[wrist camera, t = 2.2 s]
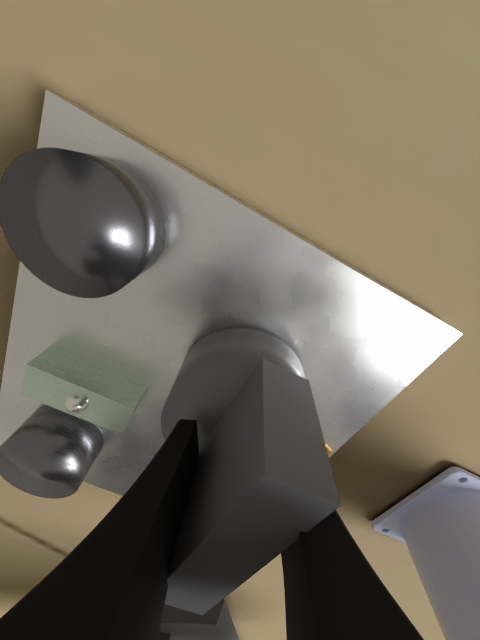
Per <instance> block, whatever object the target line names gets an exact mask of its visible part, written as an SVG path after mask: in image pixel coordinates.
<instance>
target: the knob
mask: <svg viewBox="0 0 480 640" xmlns="http://www.w3.org/2000/svg"><path fill="white" fill-rule="evenodd" d="M180 419H185V420H197V431H198V446H199V458H198V462H197V467H196V471H195V476H194V480H193V484H192V488H191V491H190V495H189V499H188V502H187V506H186V510H185V513H184V517H183V520H182V524H181V528H180V531H179V535H178V539H177V542H176V546H175V550H174V553H173V557H172V561H171V565H170V569H169V573H168V577H167V582H168V590H167V595H166V600H165V604H166V605H169V606H173V607H176V608H179V609H183V610H186V611H189V612H193V613H196V614H199V615H203V614H205V613H206V612H207V611H208V610H210V609H211V608H212V607H213V606H215V605H216V604H217V603H218V602H220V601H221V600H222V599H224V598H225V597H226V596H227V595H229V594H230V593H231V592H232V591H234V590H235V589H236V588H237V587H239V586H240V585H241V584H242V583H244V582H245V581H246V580H247V579H249V578H250V577H251V576H253V575H254V574H255V573H256V572H258V571H259V570H260V569H261V568H263V567H264V566H265V565H266V564H268V563H269V562H270V561H271V560H273V559H274V558H275V557H276V556H278V555H279V554H280V553H282V552H283V551H284V550H285V549H287V548H288V547H289V546H290V545H292V544H293V543H294V542H295V541H297V540H298V537H299V533H300V531H302V532H308V531H309V530H311V529H312V528H313V527H314V526H316V525H317V524H318V523H319V522H321V521H322V520H323V519H324V518H326V517H327V516H328V515H329V514H331V513H332V512H333V511H334V510H336V509H337V508H338V507H339V506H341V503H340V499H339V496H338V492H337V488H336V484H335V480H334V476H333V472H332V468H331V464H330V461H329V457H328V453H327V449H326V445H325V441H324V437H323V433H322V430H321V426H320V422H319V418H318V414H317V410H316V406H315V402H314V399H313V395H312V391H311V387H310V383H309V380H307V379H305V375H304V371H303V368H302V365H301V362H300V360H299V359H298V357H297V355H296V354H295V353H294V351H293V350H292V349H291V348H290V347H289V346H288V345H287V344H285V343H284V342H283V341H281V340H280V339H278V338H276V337H275V336H273V335H270V334H268V333H266V332H262V331H259V330H254V329H248V328H232V329H226V330H221V331H218V332H215V333H212V334H210V335H208V336H206V337H204V338H203V339H201V340H200V341H198V342H197V343H196V344H195V345H194V346H193V347H192V348H191V349H190V350H189V352H188V353H187V355H186V356H185V359H184V361H183V363H182V366H181V368H180V370H179V373H178V375H177V377H176V380H175V382H174V384H173V386H172V389H171V391H170V393H169V396H168V398H167V400H166V403H165V405H164V407H163V410H162V414H161V429H162V433H163V437H164V439H165V441H166V439H167V438H168V436H169V435H170V433H171V432H172V430H173V428H174V427H175V425H176V424H177V422H178V421H179V420H180Z"/></svg>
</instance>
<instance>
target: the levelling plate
mask: <svg viewBox="0 0 480 640" xmlns="http://www.w3.org/2000/svg"><path fill="white" fill-rule="evenodd" d="M0 222H1V226H2V229H3V232H4V234H5V236H6V239H7V241H8V243H9V245H10V246H11V248H12V250H13V251H14V253H15V254H16V256H17V257H18V258H19V260H20V264H19V271H18V277H17V284H16V291H15V297H14V304H13V311H12V317H11V324H10V331H9V337H8V344H7V351H6V357H5V364H4V370H3V377H2V384H1V390H0V475H1V476H2V477H3V478H4V479H5V480H6V481H7V482H9V483H10V484H11V485H13V486H15V487H16V488H18V489H20V490H22V491H24V492H27V493H29V494H32V495H35V496H39V497H45V498H63V497H67V496H70V495H72V494H73V493H75V492H76V491H77V490H78V488H79V486H80V485H81V483H82V481H84V482H87V483H90V484H92V485H95V486H98V487H101V488H103V489H106V490H109V491H112V492H114V493H117V494H120V495H123V496H124V494H125V493H126V492H127V491H128V489H129V488H130V487H131V486H132V485H133V483H134V482H135V481H136V480H137V478H138V477H139V476H140V475H141V473H142V472H143V471H144V469H145V468H146V467H147V465H148V464H149V463H150V461H151V460H152V459H153V457H154V456H155V455H156V453H157V452H158V451H159V449H160V448H161V446H162V445H163V443H164V442H165V439H164V437H163V433H162V429H161V414H162V410H163V407H164V405H165V403H166V400H167V398H168V396H169V393H170V391H171V389H172V386H173V384H174V382H175V380H176V377H177V375H178V373H179V370H180V368H181V366H182V363H183V361H184V359H185V356H186V355H187V353H188V352H189V350H190V349H191V348H192V347H193V346H194V345H195V344H196V343H197V342H198V341H200V340H201V339H203V338H204V337H206V336H208V335H210V334H212V333H215V332H218V331H221V330H226V329H232V328H248V329H254V330H259V331H262V332H266V333H268V334H270V335H273V336H275V337H276V338H278V339H280V340H281V341H283V342H284V343H285V344H287V345H288V346H289V347H290V348H291V349H292V350H293V351H294V353H295V354H296V355H297V357H298V359H299V360H300V362H301V365H302V368H303V371H304V375H305V379H307V380H309V383H310V387H311V391H312V395H313V399H314V402H315V406H316V410H317V414H318V418H319V422H320V426H321V430H322V433H323V437H324V441H325V445H326V449H327V453H328V457H329V458H330V457H331V456H332V455H333V454H334V453H335V452H336V451H337V450H338V449H339V448H340V447H341V446H342V445H344V444H345V443H346V442H347V441H348V440H349V439H350V438H351V437H352V436H353V435H354V434H355V433H356V432H358V431H359V430H360V429H361V428H362V427H363V426H364V425H365V424H366V423H367V422H368V421H369V420H370V419H372V418H373V417H374V416H375V415H376V414H377V413H378V412H379V411H380V410H381V409H382V408H383V407H384V406H386V405H387V404H388V403H389V402H390V401H391V400H392V399H393V398H394V397H395V396H396V395H397V394H398V393H400V392H401V391H402V390H403V389H404V388H405V387H406V386H407V385H408V384H409V383H410V382H411V381H412V380H414V379H415V378H416V377H417V376H418V375H419V374H420V373H421V372H422V371H423V370H424V369H425V368H427V367H428V366H429V365H430V364H431V363H432V362H433V361H434V360H435V359H436V358H437V357H438V356H439V355H441V354H442V353H443V352H444V351H445V350H446V349H447V348H448V347H449V346H450V345H451V344H452V343H453V342H455V341H456V340H457V339H458V338H459V337H460V336H461V335H462V333H461V332H459V331H458V330H457V329H455V328H454V327H452V326H451V325H450V324H448V323H447V322H445V321H444V320H443V319H441V318H440V317H438V316H436V315H434V314H433V313H431V312H429V311H428V310H426V309H424V308H423V307H421V306H419V305H417V304H416V303H414V302H412V301H411V300H409V299H407V298H406V297H404V296H402V295H400V294H399V293H397V292H395V291H394V290H392V289H390V288H389V287H387V286H385V285H384V284H382V283H380V282H378V281H377V280H375V279H373V278H372V277H370V276H368V275H367V274H365V273H363V272H361V271H360V270H358V269H356V268H355V267H353V266H351V265H350V264H348V263H346V262H344V261H343V260H341V259H339V258H338V257H336V256H334V255H333V254H331V253H329V252H327V251H326V250H324V249H322V248H321V247H319V246H317V245H316V244H314V243H312V242H310V241H309V240H307V239H305V238H304V237H302V236H300V235H299V234H297V233H295V232H293V231H292V230H290V229H288V228H287V227H285V226H283V225H282V224H280V223H278V222H276V221H275V220H273V219H271V218H270V217H268V216H266V215H265V214H263V213H261V212H259V211H258V210H256V209H254V208H253V207H251V206H249V205H248V204H246V203H244V202H242V201H241V200H239V199H237V198H236V197H234V196H232V195H231V194H229V193H227V192H226V191H224V190H222V189H220V188H219V187H217V186H215V185H214V184H212V183H210V182H209V181H207V180H205V179H203V178H202V177H200V176H198V175H197V174H195V173H193V172H192V171H190V170H188V169H186V168H185V167H183V166H181V165H180V164H178V163H176V162H175V161H173V160H171V159H169V158H168V157H166V156H164V155H163V154H161V153H159V152H158V151H156V150H154V149H152V148H151V147H149V146H147V145H146V144H144V143H142V142H141V141H139V140H137V139H135V138H134V137H132V136H130V135H129V134H127V133H125V132H124V131H122V130H120V129H118V128H117V127H115V126H113V125H112V124H110V123H108V122H107V121H105V120H103V119H101V118H100V117H98V116H96V115H95V114H93V113H91V112H90V111H88V110H86V109H84V108H83V107H81V106H79V105H78V104H76V103H74V102H72V101H70V100H68V99H66V98H63V97H61V96H59V95H57V94H55V93H52V92H50V91H48V90H46V91H45V98H44V105H43V111H42V118H41V124H40V131H39V138H38V144H37V149H34V150H31V151H28V152H26V153H24V154H22V155H20V156H19V157H18V158H16V159H15V160H14V161H13V162H12V163H11V164H10V165H9V167H8V168H7V169H6V171H5V173H4V175H3V176H2V179H1V182H0Z"/></svg>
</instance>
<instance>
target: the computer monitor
mask: <svg viewBox="0 0 480 640" xmlns="http://www.w3.org/2000/svg"><path fill="white" fill-rule="evenodd" d="M158 640H239V638H238V636H237V633H236V630H235V627H234V625H233V622H232V619H231V617H230V614H229V611H228V608H227V606H226V603H225V600H224V599H222V600H221V601H220V602H218V603H217V604H216V605H215V606H213V607H212V608H211V609H210V610H208V611H207V612H206V613H205V614H203V615H199V614H196V613H193V612H189V611H186V610H183V609H179V608H176V607H173V606H169V605H166V604H165V605H164V610H163V615H162V620H161V625H160V631H159V636H158Z"/></svg>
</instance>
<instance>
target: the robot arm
mask: <svg viewBox="0 0 480 640" xmlns="http://www.w3.org/2000/svg"><path fill="white" fill-rule="evenodd" d="M198 458H199V446H198V431H197V420H185V419H180V420H179V421H178V422H177V424H176V425H175V427H174V428H173V430H172V432H171V433H170V435H169V436H168V438H167V439H166V441H165V442H164V443H163V445H162V446H161V448H160V449H159V451H158V452H157V453H156V455H155V456H154V457H153V459H152V460H151V461H150V463H149V464H148V465H147V467H146V468H145V469H144V471H143V472H142V473H141V475H140V476H139V477H138V478H137V480H136V481H135V482H134V483H133V485H132V486H131V487H130V488H129V489H128V491H127V492H126V493H125V494H124V496H123V497H122V498H121V499H120V500H119V502H118V503H117V504H116V505H115V506H114V507H113V508H112V510H111V511H110V512H109V513H108V514H107V515H106V516H105V517H104V518H103V520H102V521H101V522H100V523H99V524H98V525H97V526H96V527H95V528H94V529H93V530H92V531H91V532H90V534H89V535H88V536H87V537H86V538H85V539H84V540H83V541H82V542H81V543H80V544H79V545H78V546H77V547H76V548H75V549H74V550H73V551H72V552H71V553H70V554H69V555H68V556H67V557H66V558H65V559H64V560H63V561H62V562H61V563H60V564H59V565H58V566H57V567H56V568H55V569H54V570H53V571H52V572H50V573H49V574H48V575H47V576H46V577H45V578H44V579H43V580H42V581H41V582H40V583H39V584H37V585H36V586H35V587H34V588H33V589H32V590H31V591H30V592H29V593H28V594H27V595H25V596H24V597H23V598H22V599H21V600H20V601H19V602H18V603H17V604H16V605H15V606H13V607H12V608H11V609H10V610H9V611H8V612H7V613H6V614H5V615H3V616H2V617H1V618H0V640H158V636H159V631H160V625H161V620H162V615H163V610H164V605H165V600H166V595H167V590H168V582H167V577H168V573H169V569H170V565H171V561H172V557H173V553H174V550H175V546H176V542H177V539H178V535H179V531H180V528H181V524H182V520H183V517H184V513H185V510H186V506H187V502H188V499H189V495H190V491H191V488H192V484H193V480H194V476H195V471H196V467H197V462H198ZM371 524H372V527H373V530H375V531H377V532H379V533H382V534H384V535H387V536H389V537H392V538H394V539H397V540H399V541H402V542H404V543H406V545H407V547H408V550H409V552H410V555H411V557H412V559H413V562H414V564H415V567H416V569H417V572H418V574H419V576H420V579H421V581H422V584H423V586H424V589H425V591H426V593H427V596H428V598H429V601H430V603H431V605H432V608H433V610H434V613H435V615H436V618H437V620H438V622H439V625H440V627H441V630H442V632H443V635H444V637H445V639H446V640H480V477H478V476H476V475H474V474H472V473H470V472H468V471H466V470H464V469H462V468H459V467H450V468H448V469H446V470H445V471H444V472H442V473H441V474H439V475H438V476H436V477H435V478H433V479H432V480H431V481H429V482H428V483H426V484H425V485H423V486H422V487H420V488H419V489H418V490H416V491H415V492H413V493H412V494H410V495H409V496H407V497H406V498H405V499H403V500H402V501H400V502H399V503H397V504H396V505H394V506H393V507H392V508H390V509H389V510H387V511H386V512H384V513H383V514H381V515H380V516H379V517H377V518H376V519H374V520H373V521H372V522H371ZM281 557H282V565H283V575H284V587H285V608H286V631H287V640H424V639H423V638H422V637H421V635H420V634H419V632H418V631H417V630H416V628H415V627H414V626H413V624H412V623H411V622H410V620H409V619H408V617H407V616H406V615H405V613H404V612H403V611H402V609H401V608H400V606H399V605H398V604H397V602H396V601H395V600H394V598H393V597H392V596H391V594H390V593H389V591H388V590H387V589H386V587H385V586H384V584H383V583H382V582H381V580H380V579H379V577H378V576H377V574H376V573H375V571H374V570H373V568H372V567H371V565H370V564H369V562H368V561H367V559H366V558H365V556H364V555H363V553H362V552H361V550H360V549H359V547H358V546H357V544H356V542H355V541H354V539H353V538H352V536H351V534H350V533H349V531H348V530H347V528H346V526H345V525H344V523H343V521H342V520H341V518H340V516H339V514H338V513H337V511H336V510H334V511H333V512H332V513H331V514H329V515H328V516H327V517H326V518H324V519H323V520H322V521H321V522H319V523H318V524H317V525H316V526H314V527H313V528H312V529H311V530H309V531H308V532H302V531H300V533H299V537H298V540H297V541H295V542H294V543H293V544H292V545H290V546H289V547H288V548H287V549H285V550H284V551H283V552H282V553H281Z"/></svg>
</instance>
